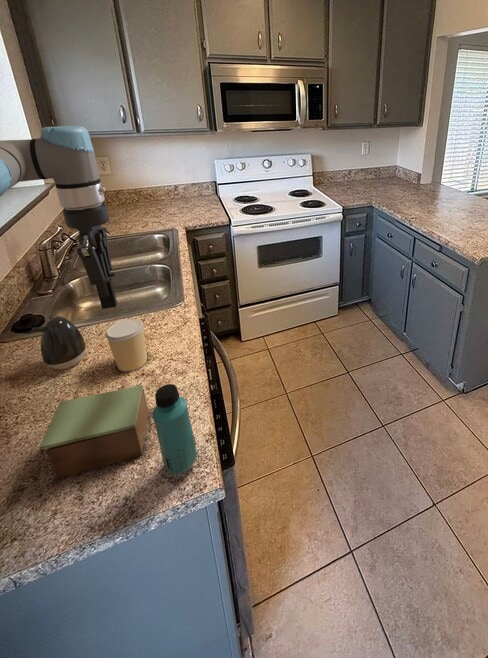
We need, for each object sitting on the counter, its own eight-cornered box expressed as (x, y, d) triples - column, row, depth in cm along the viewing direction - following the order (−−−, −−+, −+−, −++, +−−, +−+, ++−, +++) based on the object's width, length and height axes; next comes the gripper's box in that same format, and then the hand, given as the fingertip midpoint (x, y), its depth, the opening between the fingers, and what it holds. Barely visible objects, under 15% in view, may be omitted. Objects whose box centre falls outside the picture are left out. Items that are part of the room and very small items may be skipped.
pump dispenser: (43, 362, 104) (28, 318, 99) (84, 346, 111) (72, 304, 106) (48, 381, 97) (32, 334, 92) (92, 363, 104) (79, 318, 99)
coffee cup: (152, 348, 109) (145, 315, 105) (147, 369, 101) (139, 333, 97) (118, 355, 107) (109, 321, 103) (110, 377, 98) (101, 340, 94)
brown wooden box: (57, 478, 72) (46, 450, 69) (75, 431, 82) (66, 405, 80) (142, 455, 77) (135, 428, 74) (149, 412, 87) (143, 387, 84)
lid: (40, 450, 69) (39, 447, 69) (60, 404, 79) (60, 401, 79) (135, 427, 74) (134, 424, 74) (143, 387, 84) (142, 384, 84)
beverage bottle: (204, 453, 77) (191, 380, 70) (186, 484, 71) (170, 407, 64) (177, 447, 78) (162, 374, 71) (157, 477, 72) (139, 400, 65)
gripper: (96, 212, 67) (122, 319, 75) (112, 195, 79) (133, 289, 87) (50, 216, 65) (82, 326, 73) (73, 199, 77) (98, 294, 85)
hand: (109, 306), depth 80 cm, fingers closed
